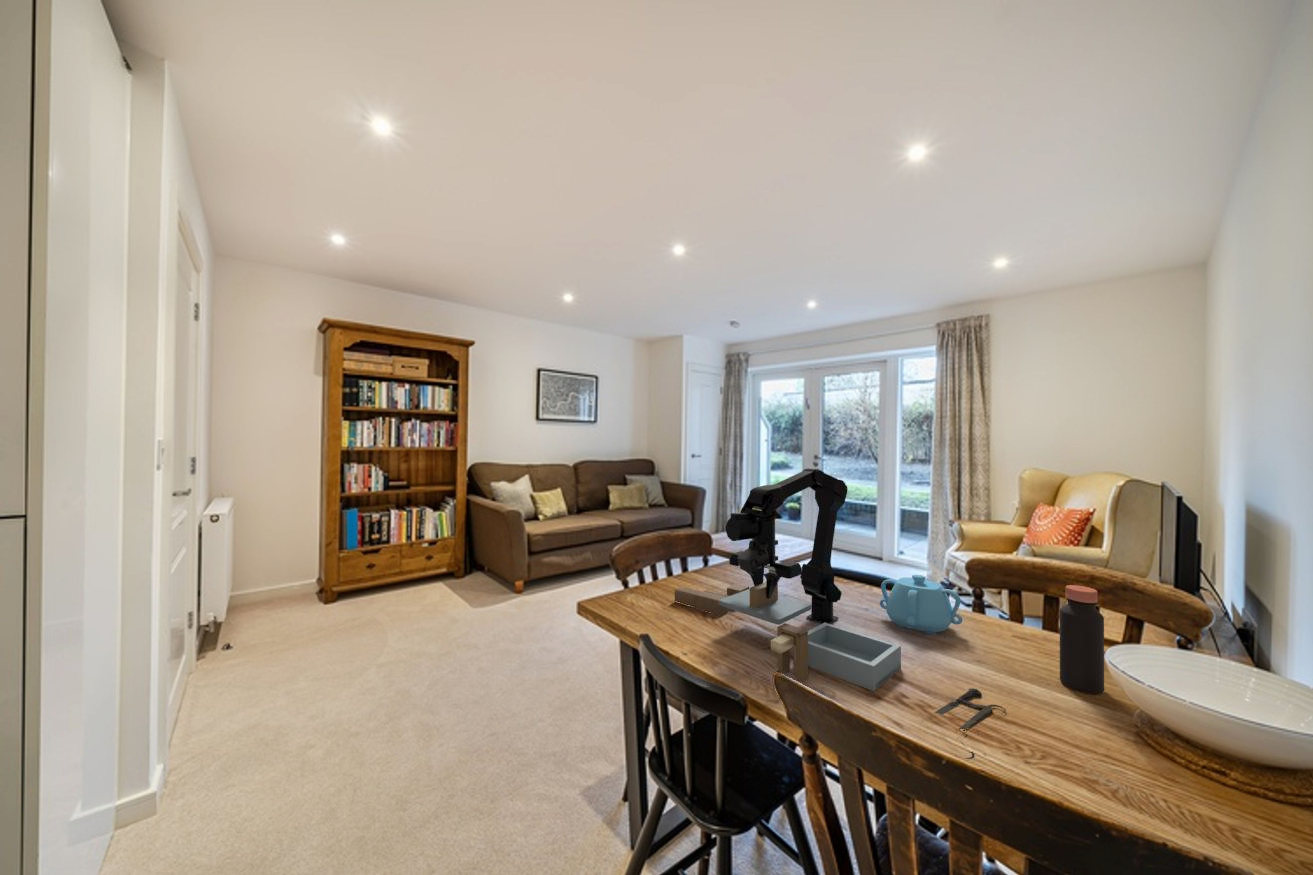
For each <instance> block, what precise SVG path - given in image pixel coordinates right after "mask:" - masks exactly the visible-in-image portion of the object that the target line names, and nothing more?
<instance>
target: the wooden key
mask: <svg viewBox="0 0 1313 875" xmlns="http://www.w3.org/2000/svg"><path fill="white" fill-rule="evenodd" d="M794 646H795V636H793V635H790V634H787V633H784V634H782V635H780V636H778V637H777V636H776V637H774V638H772V639H770V651H773V652H775V653H777V652H778V653H780V654H781V653H783V652H785V651H787V650H788V649H790V650H791V649H792V648H794Z"/></svg>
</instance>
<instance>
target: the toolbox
mask: <svg viewBox="0 0 1313 875" xmlns="http://www.w3.org/2000/svg"><path fill="white" fill-rule="evenodd" d="M776 629H777V632H776V633H777V636H776V637H778V636H780V635H782V634H784V633H787V634H790V635H793V636H795V646H794V647H793V661H795V679H797V680H798V681H802V680H804V679H805V678H806V677H807V678H808V676H809V668H812V669H814V670H818V671H819V672H820V671H821V672H823V673H826V674H827V675H828V674H829V675H831V676H833V677H836V678H839V679H841V680H844V681H847V682H849V683H851V684H855V685H857V686H859V687H862V688H865V689H867V690H870V691H873V692H875V691H876V690H877V689H878V688H879V687H880V686H882V685H883V684H884V683H886V682H887V681H888V680H889V679H891V677H893V676H894V675H895V674H896V673H897V672H899V670H902V645H900V644H896V643H893V642H890V641H887V640H884V639H880V638H877V637H873V636H870V635H868V634H863V633H860V632H857V631H853V630H850V629H847V628H843V627H840V626H837V625H833V624H832V623H830V624H828V623H820V624H819V625H817V626H815V627H813V628H811V629H809V630H807V629H804V628H800V627H798V626H796V625H791V624H788V623H786V622H784V623H782V624H780V625H779V626H777V628H776ZM776 653H777V672H779V671H780V672H779V673H781V672H782V674H783V673H784V672H786V671H788V670H790V669H791V648H790V649H788V650H787V651H785V652H783V653H781V654H780V653H778V652H776Z"/></svg>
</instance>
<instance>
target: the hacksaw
mask: <svg viewBox="0 0 1313 875" xmlns="http://www.w3.org/2000/svg"><path fill="white" fill-rule="evenodd" d="M981 697H982V692H981V691H980V690H979V689H977V688H974V687H973V688H968V691H967V692H964V694H962V695H960V696H958V697H957V698H956V699H955V701H953V700H951V701H950V702H948V703H947V704H945V705H944V706H942V707H941V708H939V709H938V710H936V711H934V714H937V715H938V714H939V715H944V714H946V713H947V712H950V711H951V710H953V709H955V708H956V707H958V706H959V705H960V704H962V705H965V706H967V707H968V708H969V707H970V708H974V709H977V710H978V709H979V711H978V712H977V713H976V714H975V715H973V716H972V717H971V718H970V719H968V720H967V721H966V722H965V723H964V724H962V725H961V726H960V727H959V728H958V729H959V730H960V729H964V730H963V731H965V729H966V730H967V728H970V727H971V728H973V727H974V726H976V724H978V723H979V721H980V720H981V721H983V720H984V719H985V718H986V717H987V716H989V715H990V714H992V713H993V711H994V710H993V708H994V707H995V708H996V707H997V708H1001V709H1003V712H1002V714H1005V713H1006V711H1007V710H1006V708H1004V707H1003V706H1001V705H998V704H987V705H985V704H977V703H973V702H971V701H969V700H971V699H975V698H981ZM981 721H980V722H981ZM973 725H974V726H973ZM971 728H970V729H971ZM958 729H957V731H958ZM957 731H956V732H957ZM967 731H968V730H967ZM964 734H965V733H964ZM965 735H967V734H965ZM971 753H972V754H971ZM970 754H971V756H972V757H971V756H970V757H965V758H966V759H965V760H971V759H972V760H973V759H974V758H975V756H974V755H975V753H974V751H972V752H970ZM954 757H957V755H954ZM973 757H974V758H973ZM958 758H960V757H959V756H958Z"/></svg>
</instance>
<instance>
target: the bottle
mask: <svg viewBox="0 0 1313 875" xmlns="http://www.w3.org/2000/svg"><path fill="white" fill-rule="evenodd" d="M1065 600H1066V601H1067V603H1066V604H1064V605H1063V606H1061V608H1060V609H1059V680H1060V683H1061V684H1063V686H1065V687H1067V688H1069V689H1072V690H1073V691H1076V692H1080V693H1082V694H1083V693H1084V694H1087V695H1101V694H1103V693H1104V691H1105V618H1104V617H1105V616H1103V614H1101V612H1100V611H1099V610H1097V608H1096V606H1097V605H1098V590H1096V589H1095V588H1093V587H1092V588H1091V587H1089V586H1088V587H1087V586H1083V585H1079V584H1078V585H1076V584H1069V585H1068V584H1067V585H1066V586H1065Z"/></svg>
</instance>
